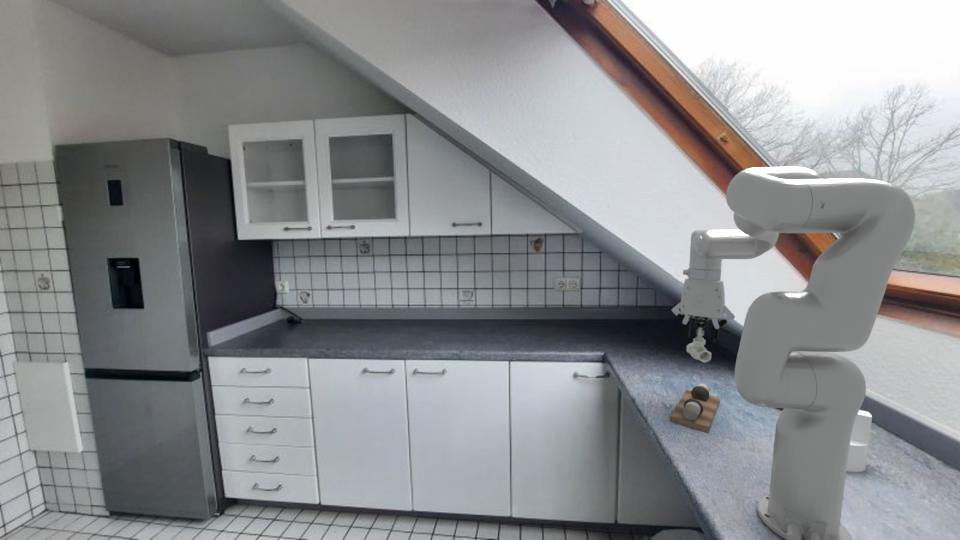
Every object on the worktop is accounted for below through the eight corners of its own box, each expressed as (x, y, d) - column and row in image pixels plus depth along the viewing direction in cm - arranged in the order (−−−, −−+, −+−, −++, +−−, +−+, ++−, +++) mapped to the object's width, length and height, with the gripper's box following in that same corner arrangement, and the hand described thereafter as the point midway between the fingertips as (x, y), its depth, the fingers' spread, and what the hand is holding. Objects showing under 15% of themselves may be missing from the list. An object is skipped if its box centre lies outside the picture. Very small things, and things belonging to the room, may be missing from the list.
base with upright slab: (814, 462, 84) (820, 412, 83) (808, 443, 92) (812, 396, 90) (871, 477, 79) (878, 423, 78) (859, 455, 87) (865, 406, 85)
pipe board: (708, 432, 96) (710, 411, 96) (670, 421, 102) (671, 401, 101) (719, 402, 113) (721, 384, 112) (686, 394, 118) (687, 377, 118)
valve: (703, 355, 109) (706, 315, 107) (716, 363, 102) (720, 320, 101) (680, 355, 109) (683, 314, 108) (692, 363, 102) (695, 320, 101)
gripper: (666, 274, 105) (663, 337, 107) (741, 279, 94) (736, 349, 96) (672, 271, 111) (669, 331, 113) (743, 276, 100) (738, 342, 102)
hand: (700, 338), depth 105 cm, fingers closed on valve, 5 cm apart
